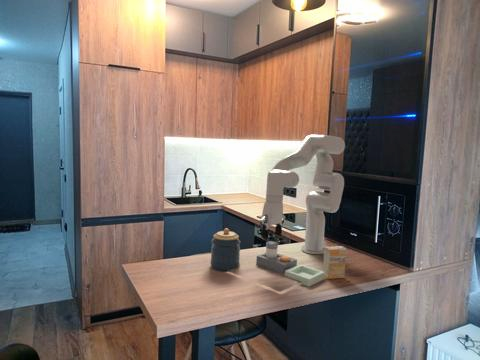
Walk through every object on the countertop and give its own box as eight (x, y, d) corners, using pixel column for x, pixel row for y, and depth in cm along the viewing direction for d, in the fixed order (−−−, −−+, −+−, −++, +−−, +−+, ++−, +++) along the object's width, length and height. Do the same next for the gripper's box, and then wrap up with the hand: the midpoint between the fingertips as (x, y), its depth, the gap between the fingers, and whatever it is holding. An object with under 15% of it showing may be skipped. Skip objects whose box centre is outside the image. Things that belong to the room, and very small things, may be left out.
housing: (269, 261, 170) (270, 251, 170) (296, 270, 160) (296, 259, 160) (256, 266, 163) (256, 255, 163) (283, 276, 153) (283, 264, 152)
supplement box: (327, 279, 151) (329, 249, 150) (321, 275, 156) (324, 246, 154) (344, 278, 154) (347, 248, 152) (338, 274, 158) (341, 245, 157)
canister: (236, 273, 154) (237, 233, 151) (206, 270, 156) (208, 230, 154) (241, 263, 166) (243, 226, 164) (214, 260, 169) (216, 223, 167)
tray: (300, 270, 160) (300, 264, 160) (324, 278, 152) (324, 271, 152) (284, 277, 151) (284, 270, 151) (309, 286, 143) (309, 279, 143)
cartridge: (269, 261, 167) (271, 240, 166) (278, 264, 164) (280, 243, 163) (262, 264, 164) (263, 242, 162) (271, 267, 160) (273, 245, 159)
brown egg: (283, 265, 162) (283, 255, 161) (291, 268, 159) (292, 258, 158) (277, 268, 158) (277, 257, 158) (285, 270, 156) (286, 260, 155)
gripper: (279, 196, 169) (276, 232, 171) (255, 199, 156) (252, 237, 158) (292, 198, 164) (289, 235, 166) (268, 201, 151) (266, 241, 153)
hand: (271, 236), depth 162 cm, fingers open, 9 cm apart
